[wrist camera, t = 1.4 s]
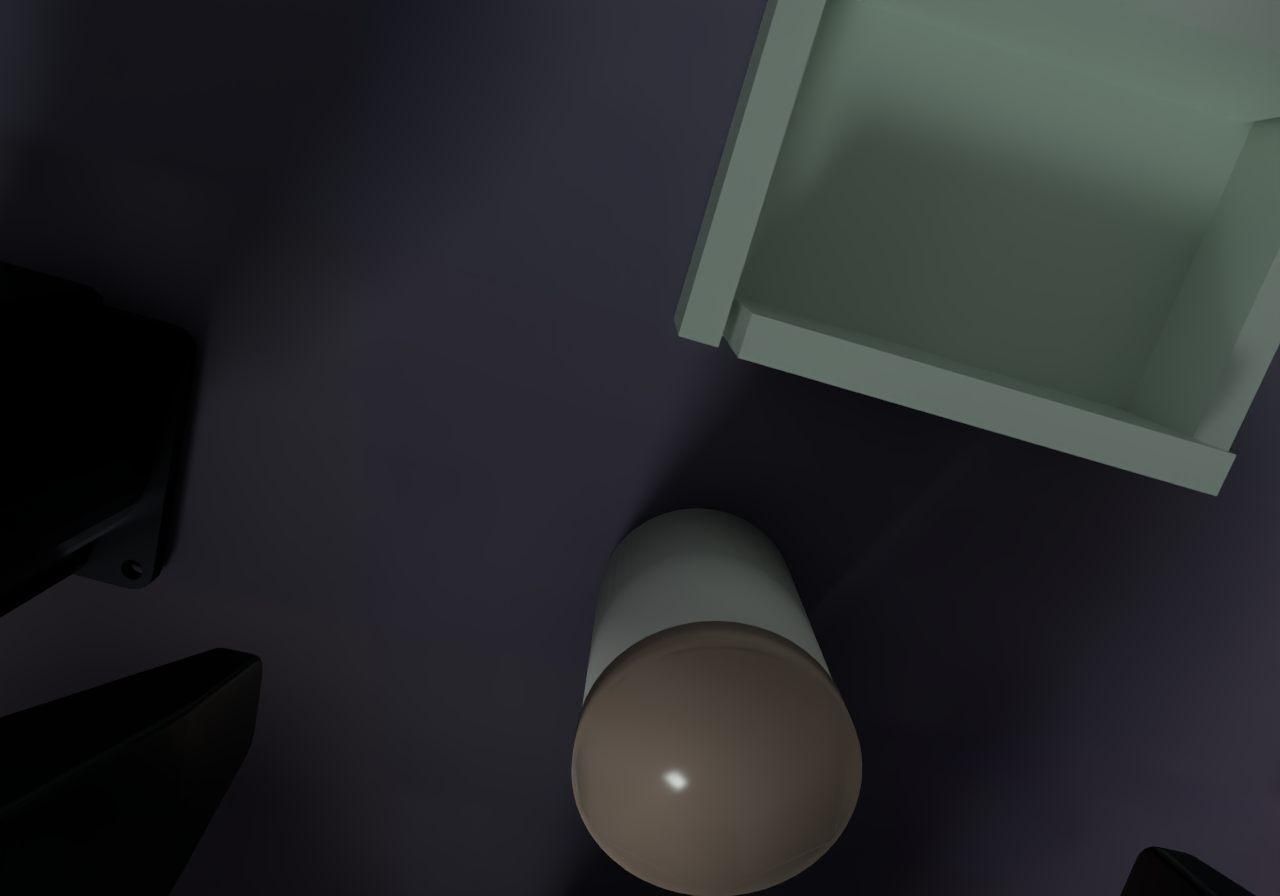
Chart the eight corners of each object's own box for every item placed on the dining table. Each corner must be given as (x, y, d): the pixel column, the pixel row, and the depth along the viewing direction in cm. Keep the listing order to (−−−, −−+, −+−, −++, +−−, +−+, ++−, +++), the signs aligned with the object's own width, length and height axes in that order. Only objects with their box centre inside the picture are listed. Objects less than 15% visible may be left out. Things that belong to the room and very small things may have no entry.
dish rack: (1124, 449, 20) (1265, 516, 16) (673, 318, 20) (681, 347, 15) (1447, -278, 17) (1754, -472, 12) (906, -468, 16) (1010, -750, 11)
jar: (759, 710, 22) (807, 925, 15) (574, 661, 22) (540, 857, 15) (822, 537, 21) (904, 686, 14) (626, 482, 21) (615, 608, 14)
